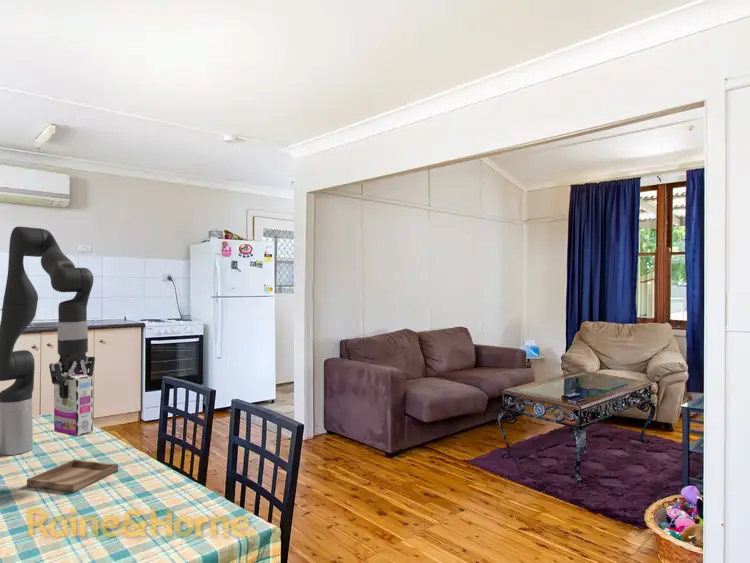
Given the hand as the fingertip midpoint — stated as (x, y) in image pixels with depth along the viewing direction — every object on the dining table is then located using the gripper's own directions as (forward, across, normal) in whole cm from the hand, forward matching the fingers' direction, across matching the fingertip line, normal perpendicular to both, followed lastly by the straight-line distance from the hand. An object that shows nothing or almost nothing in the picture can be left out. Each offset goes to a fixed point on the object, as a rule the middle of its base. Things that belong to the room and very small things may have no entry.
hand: (73, 395), depth 149 cm
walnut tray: (+24, 0, 0) cm, 24 cm away
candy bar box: (+11, 0, 0) cm, 11 cm away
